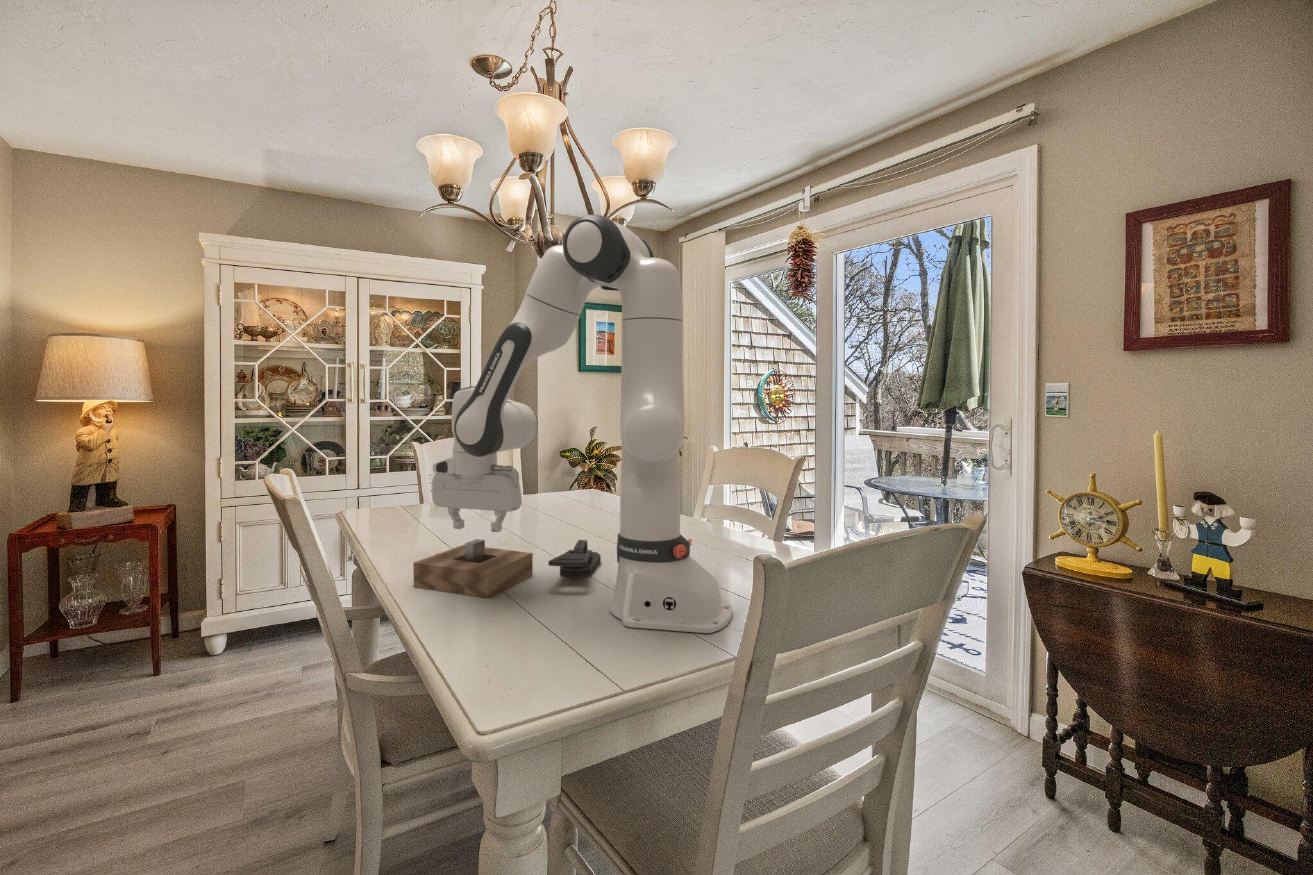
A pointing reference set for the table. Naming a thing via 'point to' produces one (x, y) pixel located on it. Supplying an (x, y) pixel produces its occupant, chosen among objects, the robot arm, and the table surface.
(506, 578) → the walnut well
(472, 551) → the steel bracket
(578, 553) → the zipper pull
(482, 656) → the table surface
